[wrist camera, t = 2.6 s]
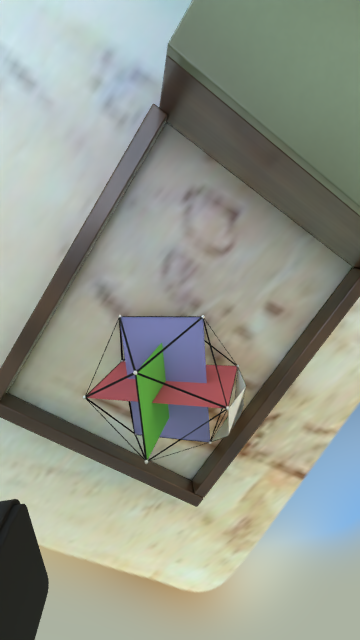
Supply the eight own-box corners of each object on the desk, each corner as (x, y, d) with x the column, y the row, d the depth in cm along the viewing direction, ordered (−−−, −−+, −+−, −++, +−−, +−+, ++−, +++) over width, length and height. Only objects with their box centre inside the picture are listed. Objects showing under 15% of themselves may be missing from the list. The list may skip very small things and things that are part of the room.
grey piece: (194, 493, 22) (214, 595, 16) (-13, 396, 19) (-89, 479, 13) (507, 83, 17) (711, 2, 11) (304, -151, 14) (434, -459, 8)
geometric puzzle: (73, 440, 18) (171, 531, 12) (50, 320, 16) (152, 361, 10) (171, 390, 22) (275, 438, 17) (162, 291, 20) (276, 309, 15)
